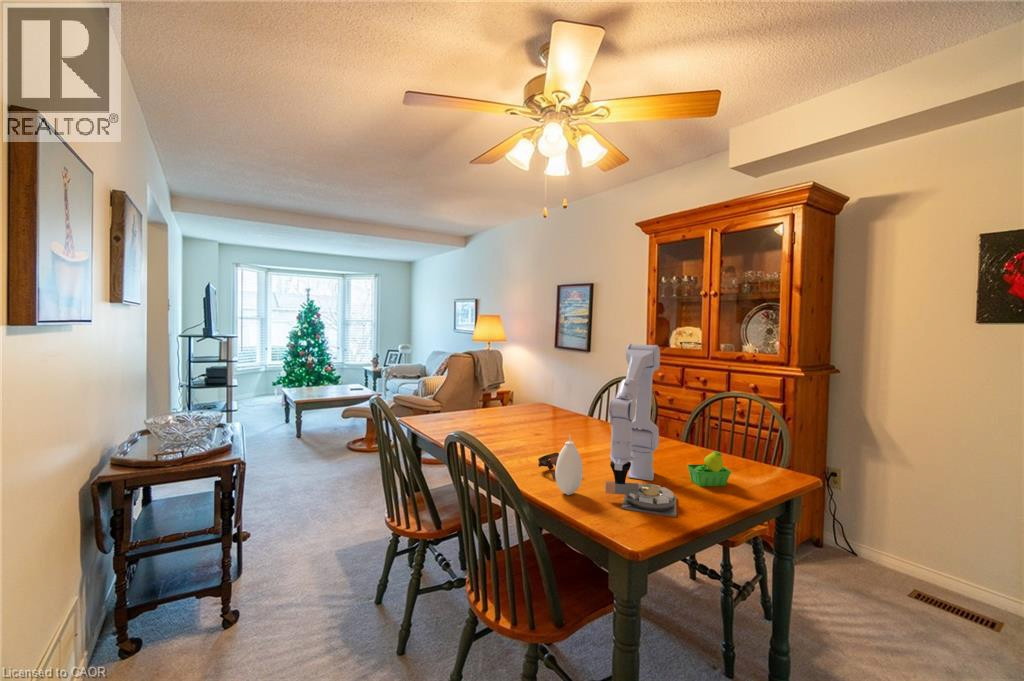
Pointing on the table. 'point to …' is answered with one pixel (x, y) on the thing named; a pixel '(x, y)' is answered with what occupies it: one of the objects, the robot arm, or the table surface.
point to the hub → (654, 508)
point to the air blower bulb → (568, 469)
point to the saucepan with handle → (639, 492)
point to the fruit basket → (710, 471)
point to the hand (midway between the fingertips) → (619, 487)
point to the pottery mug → (549, 461)
